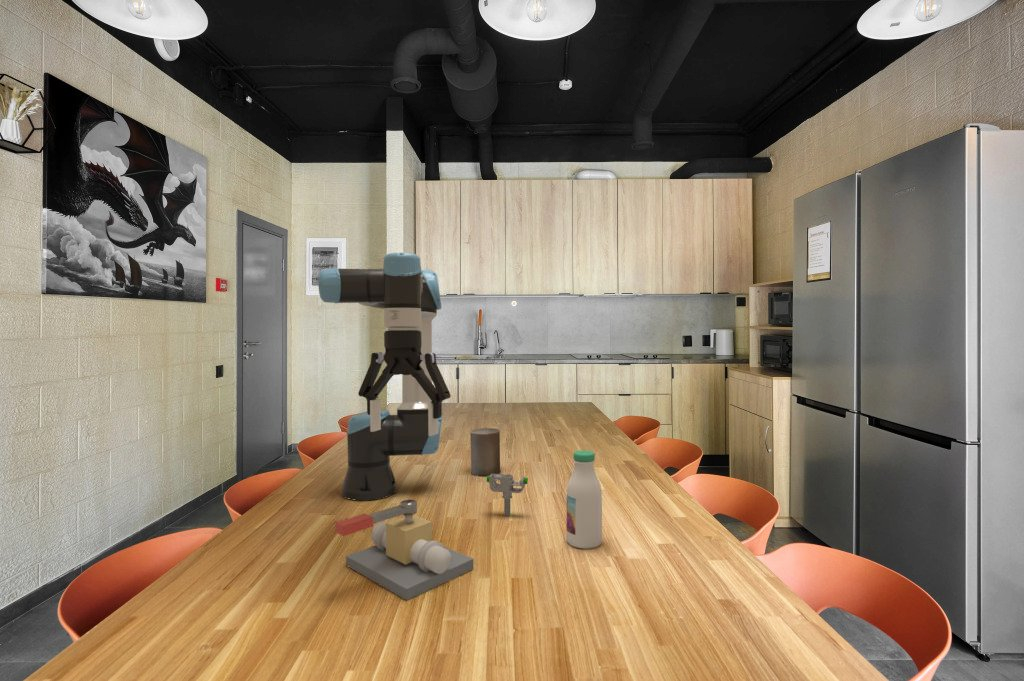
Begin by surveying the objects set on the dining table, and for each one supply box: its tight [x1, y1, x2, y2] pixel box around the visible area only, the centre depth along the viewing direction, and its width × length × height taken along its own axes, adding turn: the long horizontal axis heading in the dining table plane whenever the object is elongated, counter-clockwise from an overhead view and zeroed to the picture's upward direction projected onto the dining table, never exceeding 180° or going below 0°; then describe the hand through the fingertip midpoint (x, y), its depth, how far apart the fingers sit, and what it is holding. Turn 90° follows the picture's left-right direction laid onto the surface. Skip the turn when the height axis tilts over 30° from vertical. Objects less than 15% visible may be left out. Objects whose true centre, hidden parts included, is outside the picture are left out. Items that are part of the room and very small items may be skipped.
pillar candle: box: [469, 426, 501, 477], centre depth 172 cm, size 10×10×15 cm
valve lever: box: [334, 499, 418, 537], centre depth 99 cm, size 17×3×2 cm, turn 138°
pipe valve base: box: [345, 514, 475, 601], centre depth 105 cm, size 20×16×11 cm
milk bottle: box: [566, 449, 603, 550], centre depth 116 cm, size 8×8×20 cm
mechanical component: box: [486, 473, 529, 517], centre depth 133 cm, size 3×10×10 cm, turn 79°
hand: (403, 432), depth 109 cm, fingers open, 13 cm apart
